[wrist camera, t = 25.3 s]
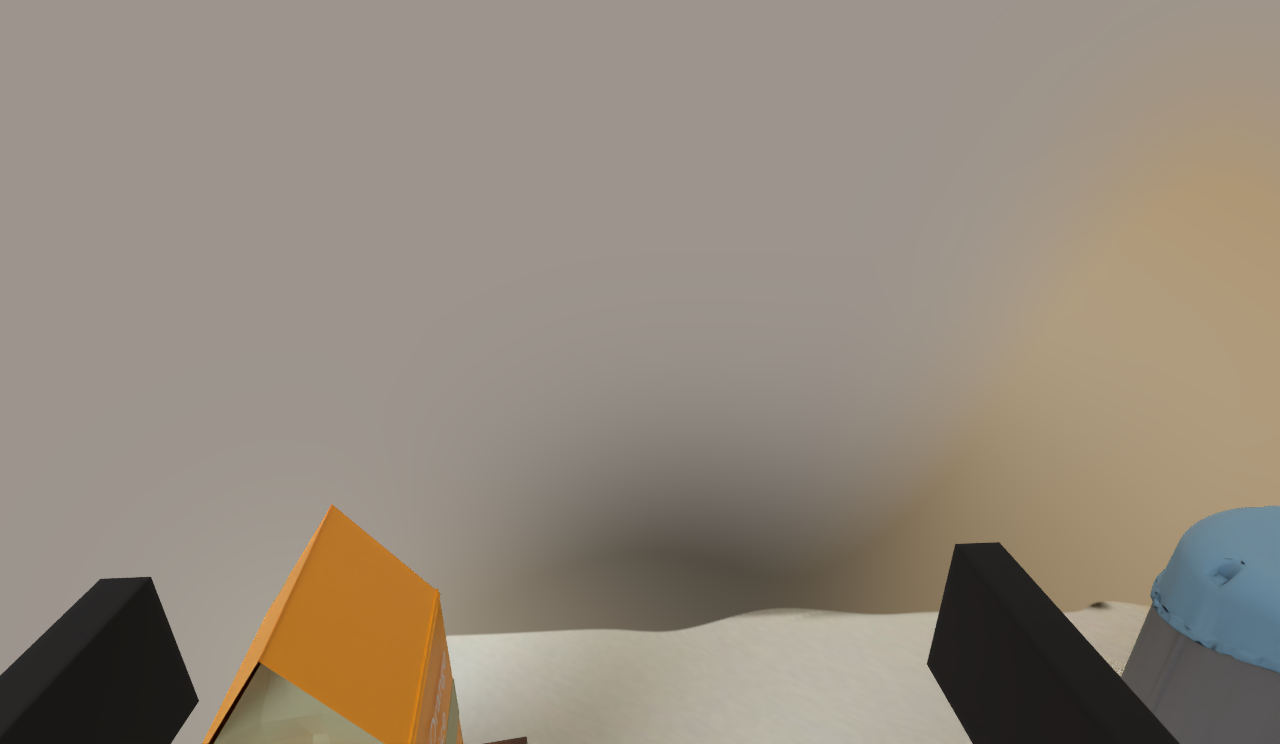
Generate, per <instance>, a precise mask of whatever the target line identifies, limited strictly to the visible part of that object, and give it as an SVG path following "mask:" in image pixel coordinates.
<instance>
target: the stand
mask: <svg viewBox="0 0 1280 744" xmlns="http://www.w3.org/2000/svg"><path fill="white" fill-rule="evenodd" d="M485 744H527V737H521V738H515V739H509V740H503V741H497V742H491V743H485Z"/></svg>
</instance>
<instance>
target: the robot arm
mask: <svg viewBox="0 0 1280 744" xmlns="http://www.w3.org/2000/svg"><path fill="white" fill-rule="evenodd" d="M1151 598H1152V601H1153V603H1152V605H1151V608H1150V610H1149V612H1148V615H1147V617H1146V620H1145V622H1144V624H1143V627H1142V629H1141V631H1140V634H1139V636H1138V638H1137V641H1136V643H1135V645H1134V648H1133V650H1132V652H1131V655H1130V657H1129V660H1128V662H1127V664H1126V667H1125V669H1124V671H1123V674H1122V676H1121V677H1120V676H1119V675H1118V674H1117V673H1116V672H1115V671H1114V670H1113V668H1112V667H1111V666H1110V665H1109V664H1108V663H1107V662H1106V661H1105V660H1104V658H1103V657H1102V656H1101V655H1100V654H1099V653H1098V652H1097V651H1096V650H1095V648H1094V647H1093V646H1092V645H1091V644H1090V643H1089V642H1088V641H1087V640H1086V638H1085V637H1084V636H1083V635H1082V634H1081V633H1080V632H1079V631H1078V630H1077V628H1076V627H1075V626H1074V625H1073V624H1072V623H1071V622H1070V621H1069V619H1068V618H1067V617H1066V616H1065V615H1064V614H1063V613H1062V612H1061V611H1060V609H1059V608H1058V607H1057V606H1056V605H1055V604H1054V603H1053V602H1052V601H1051V599H1050V598H1049V597H1048V596H1047V595H1046V594H1045V593H1044V592H1043V591H1042V590H1041V588H1040V587H1039V586H1038V585H1037V584H1036V583H1035V582H1034V581H1033V579H1032V578H1031V577H1030V576H1029V575H1028V574H1027V573H1026V572H1025V570H1024V569H1023V568H1022V567H1021V566H1020V565H1019V564H1018V563H1017V562H1016V561H1015V560H1014V558H1013V557H1012V556H1011V555H1010V554H1009V553H1008V552H1007V551H1006V549H1005V548H1004V547H1003V546H1002V545H1001V544H1000V543H999V542H998V543H972V544H956V545H955V548H954V552H953V557H952V561H951V565H950V569H949V573H948V578H947V582H946V586H945V590H944V594H943V599H942V603H941V607H940V611H939V615H938V620H937V624H936V628H935V632H934V637H933V641H932V645H931V649H930V653H929V658H928V662H927V665H928V667H929V669H930V670H931V672H932V674H933V676H934V677H935V679H936V681H937V682H938V684H939V686H940V688H941V689H942V691H943V693H944V695H945V696H946V698H947V700H948V702H949V703H950V705H951V707H952V708H953V710H954V712H955V714H956V715H957V717H958V719H959V721H960V722H961V724H962V726H963V728H964V729H965V731H966V733H967V734H968V736H969V738H970V740H971V741H972V743H973V744H1280V506H1265V507H1257V508H1255V507H1252V508H1251V507H1250V508H1237V509H1232V510H1227V511H1223V512H1219V513H1216V514H1213V515H1211V516H1208V517H1206V518H1205V519H1202V520H1200V521H1198V522H1197V523H1196V524H1194V525H1193V526H1192V527H1190V528H1189V529H1188V530H1187V531H1186V532H1185V534H1184V535H1183V536H1182V538H1181V539H1180V541H1179V543H1178V545H1177V547H1176V549H1175V551H1174V553H1173V555H1172V557H1171V559H1170V561H1169V563H1168V565H1167V567H1166V569H1164V570H1163V571H1162V572H1161V573H1160V574H1159V575H1158V576H1157V578H1156V579H1155V581H1154V583H1153V586H1152V591H1151ZM198 702H199V700H198V697H197V695H196V692H195V690H194V687H193V684H192V682H191V679H190V677H189V674H188V672H187V669H186V666H185V664H184V661H183V659H182V656H181V654H180V651H179V649H178V646H177V644H176V641H175V638H174V635H173V633H172V630H171V628H170V625H169V622H168V620H167V618H166V615H165V612H164V610H163V607H162V604H161V602H160V599H159V597H158V594H157V592H156V589H155V586H154V584H153V581H152V579H151V577H137V578H112V579H100V580H99V581H98V582H97V583H96V584H95V585H94V586H93V587H92V588H91V589H90V590H89V591H88V592H86V593H85V594H84V595H83V596H82V597H81V598H80V599H79V600H78V601H77V602H76V603H75V604H74V605H73V606H72V607H71V608H70V609H69V610H68V611H67V612H66V613H65V614H64V615H63V616H62V617H61V618H60V619H58V620H57V621H56V622H55V623H54V624H53V625H52V626H51V627H50V628H49V629H48V630H47V631H46V632H45V633H44V634H43V635H42V636H41V637H40V638H39V639H38V640H37V641H36V642H35V643H34V644H33V645H32V646H31V647H30V648H28V649H27V650H26V651H25V652H24V653H23V654H22V655H21V656H20V657H19V658H18V659H17V660H16V661H15V662H14V663H13V664H12V665H11V666H10V667H9V668H8V669H7V670H6V671H5V672H4V673H2V674H1V676H0V744H171V742H172V741H173V739H174V738H175V736H176V735H177V733H178V732H179V730H180V729H181V727H182V726H183V724H184V723H185V721H186V720H187V718H188V717H189V715H190V714H191V712H192V711H193V709H194V708H195V706H196V705H197V703H198Z"/></svg>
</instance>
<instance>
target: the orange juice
mask: <svg viewBox="0 0 1280 744" xmlns="http://www.w3.org/2000/svg"><path fill="white" fill-rule="evenodd" d="M202 744H463V739H462V733H461V727H460V721H459V709H458V703H457V697H456V691H455V684H454V679H453V678H452V672H451V666H450V660H449V653H448V647H447V641H446V635H445V629H444V623H443V617H442V611H441V604H440V593H439V592H438V589H434V588H433V587H431V586H430V585H429V584H428V583H427V582H425V581H424V580H423V579H422V578H420V577H419V576H418V575H417V574H416V573H414V572H413V571H412V570H411V569H409V568H408V567H407V566H406V565H405V564H404V563H402V562H401V561H400V560H399V559H398V558H396V557H395V556H394V555H393V554H391V553H390V552H389V551H388V550H387V549H385V548H384V547H383V546H382V545H381V544H379V543H378V542H377V541H376V540H375V539H373V538H372V537H371V536H370V535H368V534H367V533H366V532H365V531H364V530H362V529H361V528H360V527H359V526H358V525H356V524H355V523H354V522H353V521H352V520H350V519H349V518H348V517H347V516H345V515H344V514H343V513H342V512H341V511H339V510H338V509H337V508H336V507H335V506H333V505H331V507H330V508H329V510H328V512H327V513H326V515H325V517H324V519H323V520H322V522H321V523H320V525H319V527H318V529H317V530H316V532H315V534H314V535H313V537H312V538H311V540H310V542H309V544H308V545H307V547H306V549H305V550H304V552H303V554H302V555H301V557H300V559H299V560H298V562H297V564H296V565H295V567H294V569H293V570H292V572H291V574H290V575H289V577H288V579H287V580H286V582H285V584H284V585H283V587H282V589H281V591H280V592H279V594H278V595H277V597H276V599H275V600H274V602H273V604H272V605H271V607H270V609H269V610H268V612H267V614H266V616H265V618H264V620H263V622H262V624H261V626H260V628H259V630H258V632H257V634H256V636H255V639H254V640H253V643H252V644H251V647H250V648H249V650H248V653H247V654H246V656H245V659H244V660H243V662H242V664H241V667H240V669H239V671H238V673H237V675H236V677H235V679H234V681H233V683H232V685H231V687H230V689H229V691H228V693H227V695H226V697H225V699H224V701H223V703H222V705H221V707H220V709H219V711H218V713H217V715H216V717H215V719H214V721H213V723H212V725H211V727H210V729H209V731H208V733H207V735H206V737H205V739H204V741H203V743H202Z"/></svg>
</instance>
